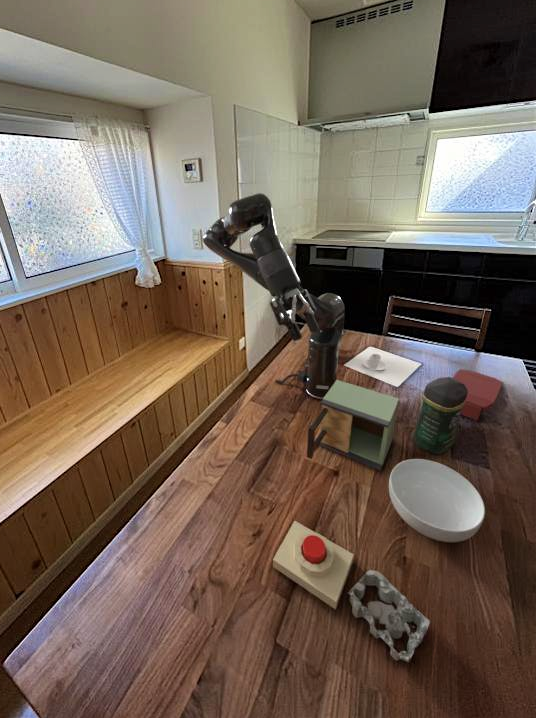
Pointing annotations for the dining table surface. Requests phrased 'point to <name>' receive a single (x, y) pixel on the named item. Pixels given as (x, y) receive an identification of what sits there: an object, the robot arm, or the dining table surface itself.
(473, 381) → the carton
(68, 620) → the dining table surface
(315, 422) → the door
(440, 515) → the cereal bowl
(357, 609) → the egg carton
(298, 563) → the switch box
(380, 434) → the cupboard
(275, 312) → the robot arm
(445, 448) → the coffee jar
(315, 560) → the button
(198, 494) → the dining table surface
